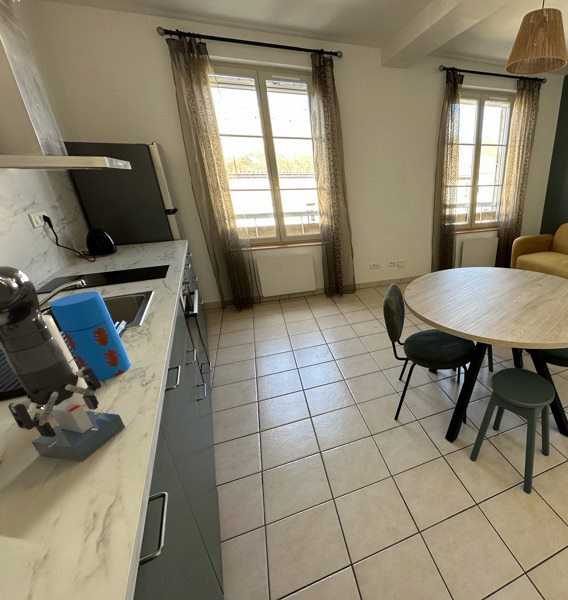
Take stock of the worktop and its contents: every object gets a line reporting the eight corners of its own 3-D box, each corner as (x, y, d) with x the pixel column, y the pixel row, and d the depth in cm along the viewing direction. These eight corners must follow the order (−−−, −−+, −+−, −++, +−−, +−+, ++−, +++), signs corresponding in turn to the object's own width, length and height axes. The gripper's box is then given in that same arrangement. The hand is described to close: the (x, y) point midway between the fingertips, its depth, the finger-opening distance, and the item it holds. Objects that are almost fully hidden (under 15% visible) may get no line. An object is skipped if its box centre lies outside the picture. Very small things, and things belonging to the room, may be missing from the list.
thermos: (101, 384, 97) (62, 308, 87) (79, 377, 100) (40, 303, 90) (139, 364, 106) (108, 293, 96) (118, 358, 110) (86, 289, 100)
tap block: (36, 457, 73) (27, 443, 71) (88, 420, 83) (81, 407, 81) (80, 463, 71) (71, 449, 69) (127, 425, 81) (121, 412, 79)
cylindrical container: (97, 391, 94) (57, 313, 84) (84, 407, 88) (39, 325, 78) (67, 397, 92) (22, 318, 82) (51, 414, 86) (1, 330, 76)
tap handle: (60, 428, 75) (47, 407, 73) (71, 421, 77) (59, 400, 75) (82, 433, 73) (70, 411, 71) (93, 426, 75) (81, 404, 73)
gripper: (65, 342, 75) (94, 398, 82) (-20, 380, 63) (22, 443, 69) (89, 345, 73) (117, 402, 80) (6, 385, 61) (47, 449, 67)
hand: (73, 421), depth 75 cm, fingers open, 8 cm apart
